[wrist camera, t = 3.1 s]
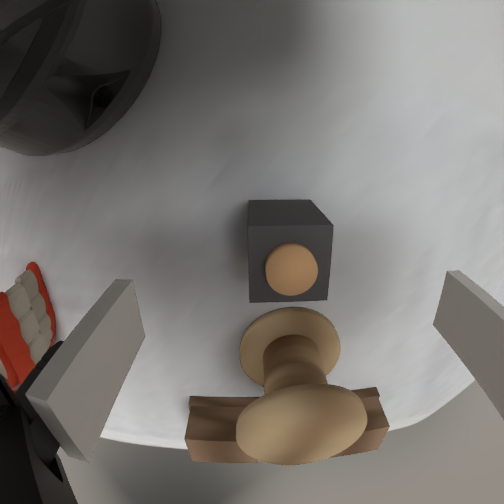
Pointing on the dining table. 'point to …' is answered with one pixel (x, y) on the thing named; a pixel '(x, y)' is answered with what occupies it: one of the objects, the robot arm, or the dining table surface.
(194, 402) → the brown wooden u-shaped block
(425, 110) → the dining table surface
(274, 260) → the dark grey rectangular block
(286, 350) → the wooden spool
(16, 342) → the toy
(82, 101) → the robot arm
